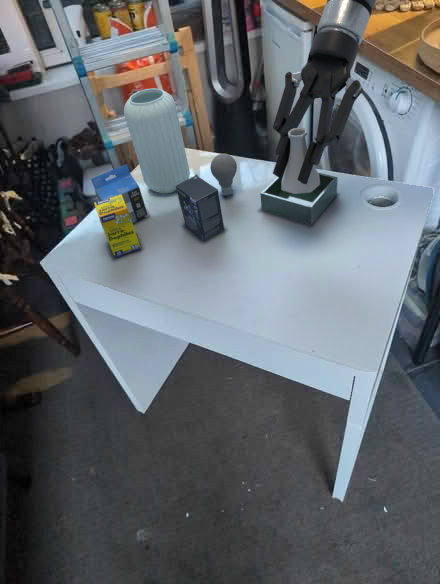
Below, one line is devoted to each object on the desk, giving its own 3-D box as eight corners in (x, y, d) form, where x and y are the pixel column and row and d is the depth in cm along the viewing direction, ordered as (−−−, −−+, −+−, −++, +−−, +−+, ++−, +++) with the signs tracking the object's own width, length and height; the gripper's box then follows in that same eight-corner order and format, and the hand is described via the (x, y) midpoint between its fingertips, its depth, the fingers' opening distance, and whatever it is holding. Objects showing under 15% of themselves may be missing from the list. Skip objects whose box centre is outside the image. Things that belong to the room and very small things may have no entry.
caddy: (336, 194, 97) (338, 177, 94) (310, 225, 91) (311, 207, 88) (288, 182, 103) (288, 165, 100) (261, 210, 97) (260, 193, 94)
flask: (275, 193, 78) (269, 141, 71) (287, 172, 83) (283, 121, 76) (314, 197, 75) (312, 142, 68) (325, 175, 80) (324, 122, 73)
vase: (196, 172, 112) (179, 83, 96) (184, 198, 104) (163, 106, 88) (155, 172, 114) (131, 85, 99) (140, 197, 107) (112, 108, 91)
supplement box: (115, 259, 92) (98, 217, 84) (109, 243, 96) (93, 202, 88) (142, 249, 93) (127, 207, 85) (135, 234, 97) (121, 193, 89)
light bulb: (235, 202, 100) (230, 163, 93) (211, 199, 102) (204, 161, 95) (243, 187, 104) (239, 149, 97) (220, 185, 106) (214, 147, 99)
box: (184, 225, 97) (174, 185, 89) (205, 214, 98) (197, 174, 91) (204, 242, 92) (195, 200, 84) (225, 230, 94) (218, 188, 86)
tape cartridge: (114, 233, 98) (95, 186, 89) (107, 225, 101) (89, 179, 92) (148, 216, 101) (134, 170, 92) (141, 209, 103) (127, 163, 94)
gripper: (393, 55, 70) (341, 195, 74) (298, 47, 78) (256, 173, 82) (385, 30, 64) (329, 185, 67) (283, 24, 72) (238, 162, 75)
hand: (289, 178), depth 75 cm, fingers closed on flask, 4 cm apart
